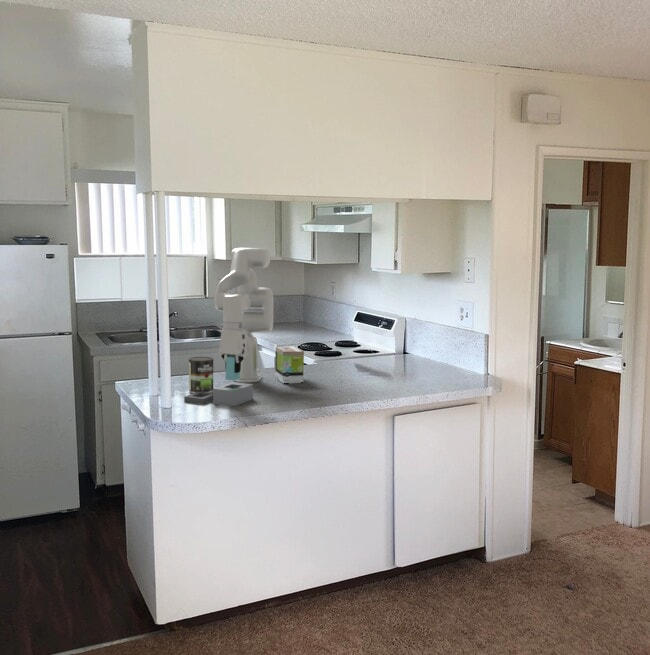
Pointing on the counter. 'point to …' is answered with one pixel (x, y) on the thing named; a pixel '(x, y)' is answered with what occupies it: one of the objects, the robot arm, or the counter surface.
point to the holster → (199, 398)
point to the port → (232, 393)
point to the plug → (231, 368)
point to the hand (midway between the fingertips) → (233, 371)
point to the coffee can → (201, 374)
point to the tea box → (289, 364)
